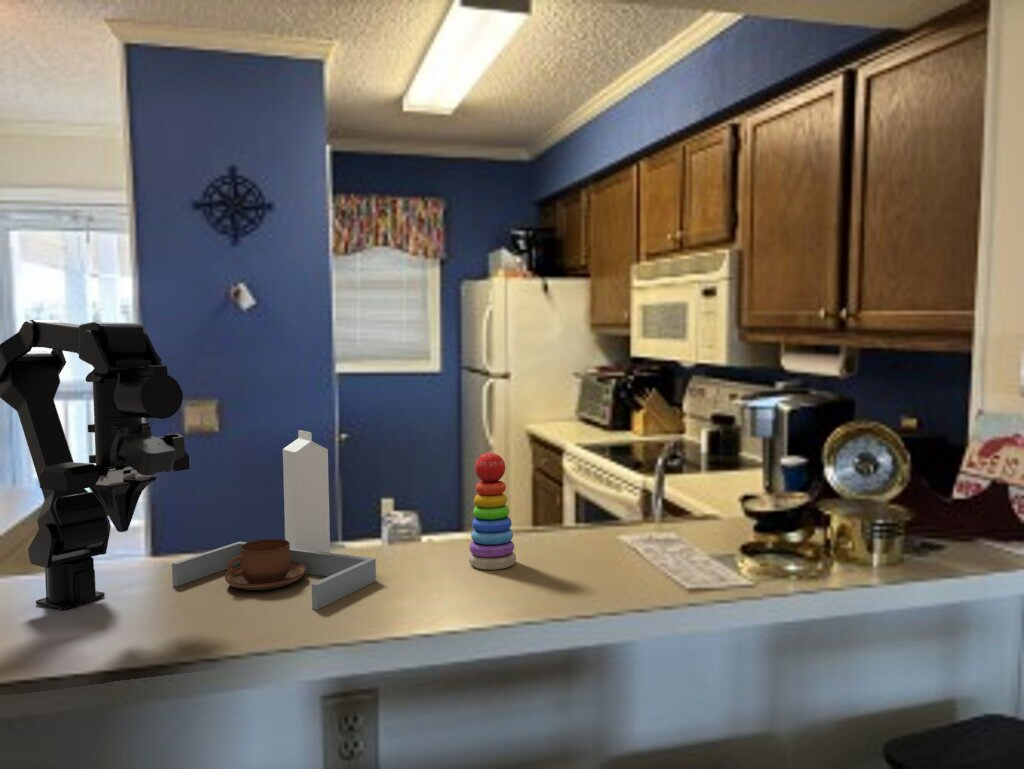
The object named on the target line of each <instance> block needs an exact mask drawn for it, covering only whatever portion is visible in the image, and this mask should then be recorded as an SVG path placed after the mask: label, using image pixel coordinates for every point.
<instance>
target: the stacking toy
mask: <svg viewBox="0 0 1024 769" xmlns="http://www.w3.org/2000/svg"><path fill="white" fill-rule="evenodd" d="M474 471H475V474H476V475H477V477H478V479H479V480H481V481H479V482H477V483H476V486H475V491H476V493H478V494H476V495H475V496H474V498H473V504H474V505H475V506H474V508H473V511H472V513H473V516H474V517H475V518H473V520H472V523H471V525H472V528H473V530H472V532H471V535H470V536H471V540H472V541H471V542H470V544H469V551H470V553H469V556H468V563H469V564H470V565H471V566H472V567H474V568H476V569H480V570H492V571H493V570H494V571H495V570H502V569H506V568H510V567H512V566H513V565H514V564H515V563H516V561H517V556H516V553H515V552H514V550H515V544H514V542H513V541H512V539H513V537H514V532H513V530H512V529H511V527H512V520H511V517H510V516H509V513H510V509H509V507H508V505H506V504H507V502H508V497H507V495H506V494H504V493H505V491H506V490H507V489H506V487H507V486H506V484H505V482H503V481H502V480H501V479H502V478H503V477H504V475H505V473H506V463H505V460H504V458H502V456H500V455H499V454H498V453H495V452H486V453H484V454H481V455H480V456H479V457H478V458H477V460H476V461H475V465H474Z"/></svg>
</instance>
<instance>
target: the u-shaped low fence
mask: <svg viewBox="0 0 1024 769" xmlns="http://www.w3.org/2000/svg"><path fill="white" fill-rule="evenodd" d="M245 543H248V542H245V541H238V542H233V543H231V544H228V545H225V546H221V547H218V548H216V549H215V548H214V549H212V550H209V551H206V552H203V553H199V554H196V555H193V556H190V557H186V558H184V559H181V560H178V561H174V562H172V563H171V569H172V570H171V573H172V574H171V575H172V577H171V578H172V586H173V587H179V586H181V585H185V584H188V583H190V582H191V583H192V582H193V581H197V580H199V579H201V578H204V577H205V578H206V577H208V576H210V575H213V574H216V573H218V572H219V573H220V572H221V571H224V570H227V566H228V563H229V561H230V560H231V559H233V558H234V557H237V556H240V547H241V545H243V544H245ZM290 561H291V562H297V563H300V564H302V565H304V566H305V567H306V570H305V574H310V575H316V576H317V575H318V576H322V577H323V576H324V578H321V579H320V580H317V581H316V582H313V583H311V609H312V610H320V609H323V608H324V607H326V606H329V605H331V604H333V603H334V602H337V601H339V600H341V599H342V598H344V597H347V596H348V595H350V594H352V593H353V594H354V592H356V591H359V590H361V589H362V588H364V587H367V586H368V585H371V584H373V583H375V582H377V565H376V564H377V563H376V558H374V557H373V558H372V557H366V556H365V557H364V556H355V555H348V554H341V553H334V552H330V553H326V552H318V551H310V550H302V549H294V548H290ZM238 565H241V561H236V562H234V563H233V565H232V567H235V566H238Z"/></svg>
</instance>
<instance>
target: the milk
mask: <svg viewBox="0 0 1024 769" xmlns="http://www.w3.org/2000/svg"><path fill="white" fill-rule="evenodd" d="M297 434H298V436H297V437H298V438H296V439H295V440H293V441H292V442H291V443H289V444H288V445H287V446H285V447H284V448H282V466H283V467H282V469H283V470H282V471H283V503H284V504H283V505H284V506H283V507H284V509H283V510H284V512H283V513H284V538H285V539H284V540H286V541H289V543H290V548H294V549H302V550H310V551H318V552H326V553H331V531H330V530H331V527H330V491H329V489H330V488H329V485H330V484H329V483H330V482H329V452H328V451H329V450H328V448H326V447H324V446H322V445H320V444H318V443H316V442H315V441H312V440H313V437H312V432H311V431H306V430H302V429H298V432H297Z"/></svg>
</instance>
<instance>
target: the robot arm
mask: <svg viewBox="0 0 1024 769" xmlns="http://www.w3.org/2000/svg"><path fill="white" fill-rule="evenodd" d="M144 329H145V328H144V326H143V325H142V324H140V323H138V322H107V321H106V322H102V321H97V322H96V321H91V322H87V323H81V324H77V323H70V322H69V323H67V322H63V321H60V320H58V319H30V320H27V321H24V322H23V323H22V325H21V326H20V329H19V330H18V332H16V333H15V334H13V335H12V336H11V337H10V336H9V338H7V339H6V340H4V341H3V342H1V343H0V399H1V401H4V402H5V403H6V404H7V405H8V406H10V407H11V408H13V409H14V410H15V411H16V412H17V415H18V418H19V422H20V424H21V429H22V431H23V434H24V438H25V440H26V443H27V444H26V445H27V448H28V450H29V453H30V457H31V460H32V463H33V466H34V469H35V472H36V477H37V480H38V483H39V489H41V493H42V496H43V500H44V501H43V503H42V506H41V509H40V511H39V514H38V517H37V520H36V523H37V526H38V530H37V532H36V534H35V536H34V538H33V540H32V541H31V543H30V544H29V547H28V549H27V551H28V552H27V553H28V557H29V563H30V564H31V565H34V566H37V567H41V568H44V573H45V574H44V577H45V581H44V582H45V597H43V598H40V599H37V600H35V605H39V606H42V607H43V606H44V607H49V608H54V609H59V610H68V609H71V608H74V607H77V606H80V605H83V604H85V603H89V602H92V601H95V600H98V599H100V598H103V597H105V592H102V591H98V590H97V589H96V586H97V585H96V570H95V563H94V561H95V560H94V557H96V556H100V555H101V556H103V555H106V554H107V552H108V551H107V550H108V546H109V545H108V544H109V541H110V535H111V534H110V533H111V527H112V525H113V526H114V528H115V530H116V531H117V532H118V533H124V532H128V531H129V528H130V526H131V522H132V519H133V516H134V514H135V511H136V507H137V504H138V502H139V500H140V497H141V495H142V493H143V491H144V490H145V489H146V488H147V487H148V486H149V485H150V484H151V483H152V482H156V481H157V479H158V477H157V476H154V475H155V474H158V473H164V472H165V473H170V472H180V471H184V470H185V471H186V470H190V469H191V457H190V455H189V453H188V452H187V451H186V445H185V436H184V435H182V434H180V433H178V432H176V433H167V434H165V435H164V436H157V437H156V436H154V435H153V434H152V432H151V431H152V429H151V425H150V422H143V419H153V420H154V419H156V420H166V419H168V418H171V417H173V416H174V415H175V414H176V413H177V412H179V410H180V408H181V406H182V404H183V400H184V392H183V389H181V386H180V384H179V382H178V381H177V380H176V379H175V378H174V377H173V376H171V375H169V374H168V366H167V365H163V364H162V359H161V357H160V356H159V354H158V353H157V351H156V349H155V348H154V345H153V344H152V341H151V339H150V337H149V334H147V332H145V330H144ZM32 348H45V349H50V350H51V351H50V352H47V351H45V350H44V351H43V350H42V351H40V350H39V351H35V350H34V351H31V350H32ZM64 352H69V353H75V354H77V355H78V359H80V361H83V362H84V363H87V364H89V365H91V366H92V367H93V368H92V370H91V371H90V372H89V373H88V374H87V375H86V376H85V381H86V383H92V396H93V423H91V424H87V433H93V434H94V452H95V454H90V455H89V454H88V463H87V462H86V463H85V462H75V461H74V459H73V456H72V454H71V453H72V452H71V450H70V447H69V444H68V441H67V440H68V439H67V437H66V434H65V431H64V428H63V425H62V422H61V418H60V415H59V413H58V409H57V406H56V402H55V400H54V399H55V397H56V394H57V392H58V389H59V387H60V384H61V379H60V374H61V372H63V369H64V368H65V366H66V364H67V361H66V357H65V354H64ZM87 489H90V491H88V490H87ZM110 521H111V523H112V525H111V523H110Z"/></svg>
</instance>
